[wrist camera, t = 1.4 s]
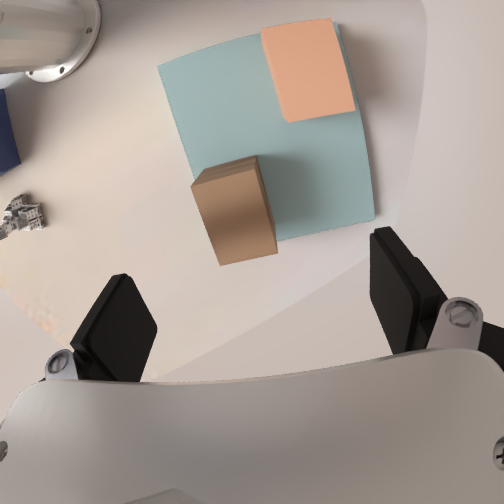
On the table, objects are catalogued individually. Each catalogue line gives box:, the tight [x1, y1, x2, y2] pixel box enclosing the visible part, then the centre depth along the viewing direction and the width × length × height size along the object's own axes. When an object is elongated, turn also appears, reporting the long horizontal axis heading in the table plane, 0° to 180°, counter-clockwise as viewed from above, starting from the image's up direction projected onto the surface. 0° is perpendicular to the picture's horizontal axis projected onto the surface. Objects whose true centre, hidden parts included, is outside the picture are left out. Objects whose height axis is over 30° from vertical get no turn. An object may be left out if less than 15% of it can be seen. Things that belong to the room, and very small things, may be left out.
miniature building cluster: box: [0, 195, 45, 240], centre depth 29 cm, size 9×9×8 cm
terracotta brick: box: [261, 18, 356, 123], centre depth 21 cm, size 8×6×6 cm
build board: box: [157, 22, 375, 241], centre depth 28 cm, size 22×18×1 cm
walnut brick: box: [191, 155, 278, 266], centre depth 28 cm, size 8×6×6 cm
